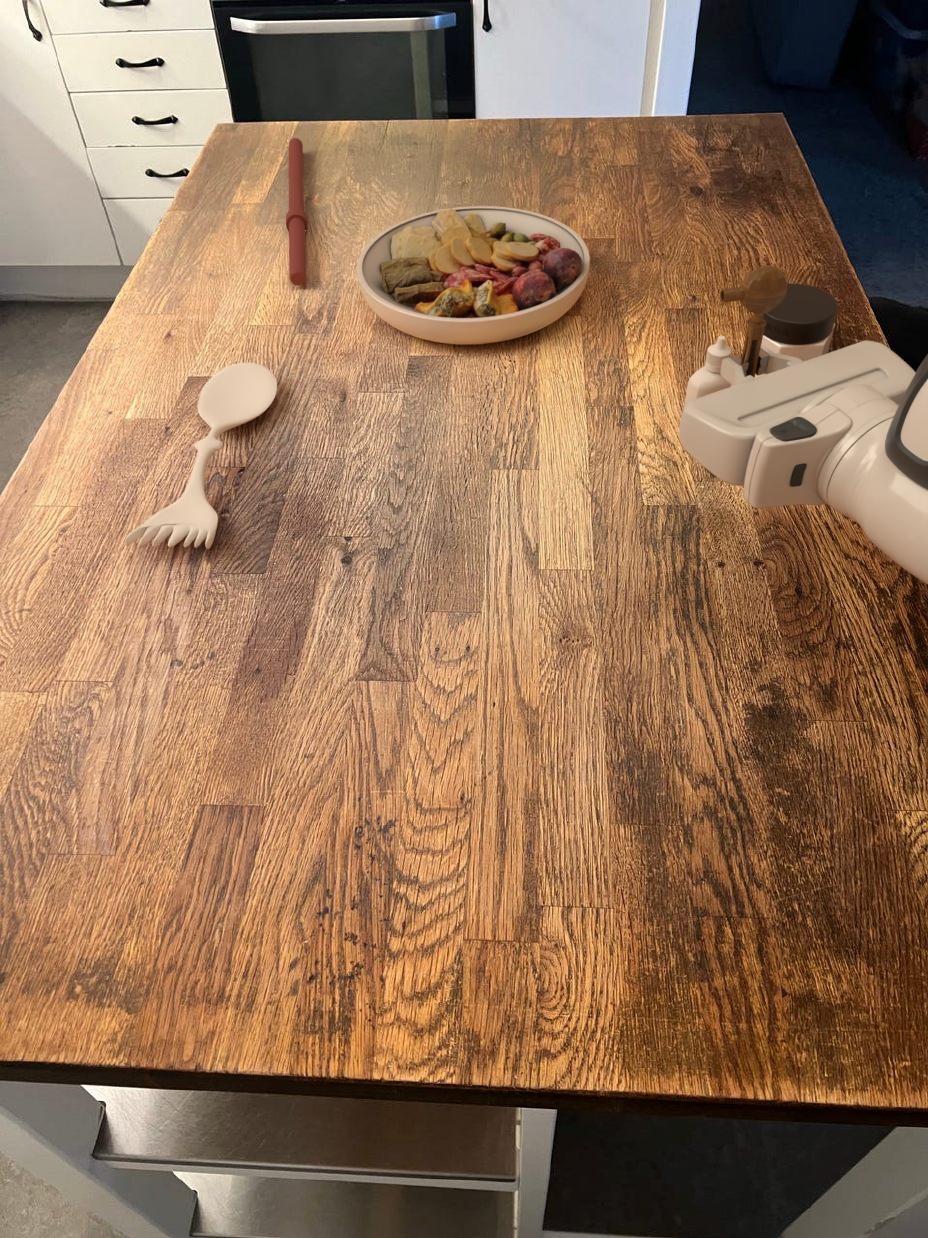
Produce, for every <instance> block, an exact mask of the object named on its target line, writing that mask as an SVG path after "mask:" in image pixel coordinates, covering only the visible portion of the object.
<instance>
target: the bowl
mask: <svg viewBox="0 0 928 1238" xmlns="http://www.w3.org/2000/svg"><path fill="white" fill-rule="evenodd" d="M590 256H591V255H590V252H589V248H588V246H587V244H586V242H585V241H584V239H583V238H582V237H581V236H580V234H578V233H577V232H576V231H575V230H573V229H572V228H571V227H569V226H568V225H566V224H565V223H563V222H562V221H559V220H557V219H555V218H552V217H550V216H547V215H545V214H543V213H538V212H535V211H532V210H531V211H530V210H526V209H522V208H516V207H507V206H496V205H471V206H470V205H468V206H457V207H449V208H443V209H437V210H434V211H429V212H425V213H421V214H417V215H415V216H411V217H409V218H405V219H404V220H402V221H399V222H397V223H395V224H393V225H391V226H389V227H387V228H386V229H383V231H381V232H379V233H378V234H377V235H376V236H374V237H373V238H372V239H371V240H370V241H369V242H368V243H367V244H366V245H365V247H364V248H363V249H362V251H361V253H360V254H359V257H358V260H357V262H356V263H357V264H356V275H357V281H358V286H359V288H360V292H361V294H362V296H363V298H364V300H365V302H366V303H367V305H368V306H369V308H370V309H371V310H372V311H373V312H374V313H375V314H376V315H377V317H379V318H380V319H381V320H382V321H383V322H385V323H386V324H388V325H389V326H390V327H392V328H394V329H396V330H397V331H400V332H402V333H404V334H407V335H409V336H413V337H415V338H418V339H422V340H425V341H429V342H434V343H441V344H446V345H447V344H448V345H465V346H466V345H485V344H495V343H500V342H506V341H510V340H514V339H518V338H521V337H525V336H527V335H530V334H533V333H535V332H538V331H539V330H542V329H544V328H546V327H548V326H550V325H551V324H553V323H554V322H556V321H557V320H559V319H560V318H562V317H563V316H564V315H565V314H566V313H567V312H569V311H570V309H571V308H572V307H573V306H574V305H575V304H576V303H577V302H578V300H579V298H580V297H581V296H582V294H583V292H584V290H585V288H586V285H587V283H588V279H589V274H590V273H589V272H590V267H591V265H590V264H591V257H590Z"/></svg>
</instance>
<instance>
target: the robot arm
mask: <svg viewBox="0 0 928 1238" xmlns="http://www.w3.org/2000/svg"><path fill="white" fill-rule="evenodd" d="M748 364H749V362H748V361H746V360H745V359H743V358H742V355H740V354H735V355H731V357H728V358H725V359H723V360H722V364H721V369H720V373H721V376H722V377H723V378H724V379H725V380H727V381H728V382H729V383H730V384H731V387H729V388H726V389H723V390H720V391H717V392H714V393H711V394H708V395H705V396H703V397H700V398H697V399H694V400H691V401H688V402H687V403H686V404H685V403H684V404H685V405H684V404H683V408H682V411H681V415H680V422H679V429H678V439H679V440H678V441H679V444H680V445H681V446H682V448H683V449H684V450H685V451H686V452H687V454H689V455H690V456H691V457H692V458H693V459H694V460H695V461H696V462H697V463H699V464H700V465H701V466H702V467H703V468H704V467H705V468H706V469H707V470H708V471H710V472H711V473H712V474H713V475H715V476H716V477H718V478H717V479H719V480H720V481H723V482H724V483H727V484H729V485H733V486H737V487H743V491H742V497H743V499H744V500H745V502H746V503H747V504H748V505H750V506H751V507H753V508H755V509H769V508H778V507H786V506H803V505H804V506H823V505H827V506H829V507H830V508H831V509H832V510H833V511H835V512H836V513H838V514H839V515H841V516H844V517H846V518H849V519H851V520H853V521H854V522H856V523H857V524H858V526H859V527H860V528H861V530H862V531H863V533H864V534H865V536H866V538H867V539H868V540H869V541H870V543H872V545H874V547H876V548H877V549H878V550H880V551H881V552H882V553H883V554H885V555H886V556H887V557H888V558H890V559H891V560H892V561H894V562H895V563H896V564H897V565H898V566H900V567H901V568H902V569H904V570H905V571H907V572H908V573H909V574H911V575H912V576H914V578H916V579H918V580H920V581H921V582H922V583H924V584H925V585H928V353H927V354H926V355H925V357H924V358H923V360H922V362H921V363H920V365H919V366H918V368H917V370H916V371H915V370H914V369H913V368H912V367H911V366H910V365H909V364H908V363H907V362H906V361H904V359H903V358H901V357H900V356H899V355H898V354H897V353H896V352H895V351H893V350H891V348H889V347H888V346H887V345H885V344H883V343H882V342H878V341H873V340H868V339H866V340H861V341H859V342H856V343H853V344H850V345H848V346H845V347H841V348H839V349H836V350H833V351H830V352H828V353H827V354H824V355H821V356H818V357H815V358H813V359H810V360H807V361H804V362H803V361H802V360H801V359H799V358H796V357H792V356H787V355H783V354H778V353H776V354H775V353H774V352H773V351H771V350H770V349H769V348H767V347H766V346H761V348H760V353H759V357H758V362H757V368H756V373H755V374H756V375H758V376H759V375H762V374H765V373H766V375H763V376H760V377H758V378H754V377H753V376H752V375H749V376H746V374H747V373H746V371H747V369H748ZM708 471H707V472H708ZM716 477H715V478H716Z"/></svg>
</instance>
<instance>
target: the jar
mask: <svg viewBox="0 0 928 1238" xmlns="http://www.w3.org/2000/svg"><path fill="white" fill-rule="evenodd" d="M838 311H839V304H838V302H837V300H836V299H835V297H834V296H833V295H832V294H831V293H829V292H828V291H826V290H824V289H822V288H819V287H816V286H813V285H809V284H804V283H788V285H787V294H786V296H785V298H784V299H783V301H782V303H781V304H779V305H778V306H777V307H776V308H774V309H773V310H772V311H770V312H766V313H764V314H763V319H764V320H766V326H765V328H764V333H763V338H762V343H761V346H766V347H767V348H769V349H770V350H771V351H773V352H774V353H775V354H776V353H778V354H783V355H787V356H792V357H796V358H799V359H801V360H802V361H803V362H804V361H807V360H810V359H813V358H815V357H818V356H821V355H824V354H827V353H829V349H830V345H831V341H832V337H833V333H834V331H835V327H836V319H837V315H838ZM763 375H766V373H765V374H762V375H759V376H758V375H756V374H755V378H758V377H760V376H763Z"/></svg>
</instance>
